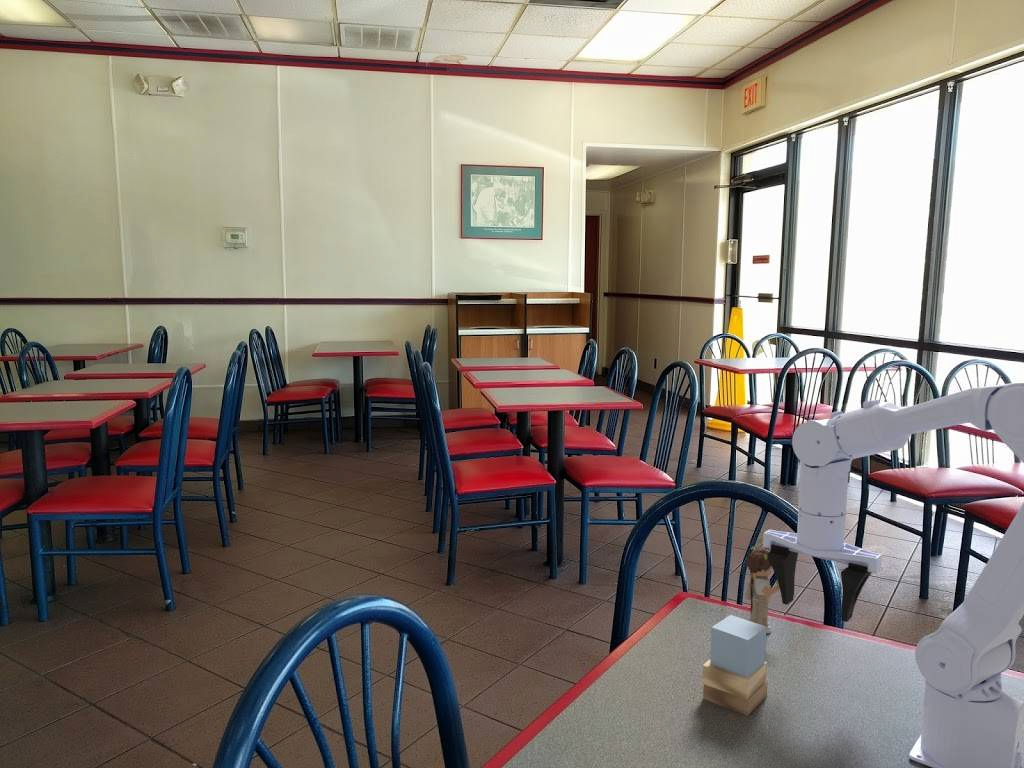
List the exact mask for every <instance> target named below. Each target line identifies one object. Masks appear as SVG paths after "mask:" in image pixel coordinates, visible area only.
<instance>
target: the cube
mask: <svg viewBox="0 0 1024 768" xmlns="http://www.w3.org/2000/svg"><path fill="white" fill-rule="evenodd" d="M710 630H711V633H710V655H709V656H710V657H709V658H710V664H711V665H714V666H716V667H719V668H722V669H724V670H727V671H729V672H732V673H734V674H737V675H740V676H742V677H745V678H747V677H749V676H750V675H751V674H752V673H754V672H755V671H756V670H757V669H759V668H760V667H761V666H762V665H763V664H765V662H766V645H767V644H766V643H767V633H766V626H763V625H760V624H757V623H754V622H751V621H749V619H748V620H747V619H744V618H742V617H739V616H735V615H733V614H729V615H727V616H726V617H725V618H724V619H722V620H720V621H719V622H717V623H716V624H714V625H713V626H711V629H710Z"/></svg>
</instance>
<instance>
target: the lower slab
mask: <svg viewBox="0 0 1024 768" xmlns="http://www.w3.org/2000/svg"><path fill="white" fill-rule="evenodd" d="M768 684H769V683H768V680H767V679H766V681H765V682H764V683H763V684H762V685H761V686H760V687H759V688H758V689H757V690H756V691H755V692H754V693H753V695H752V696H751V697H750V698H749V699H748V700H746V699H743V698H741V697H738V696H735V695H732V694H730V693H727V692H724V691H721V690H719V689H716V688H713V687H711V686H708V685H705V684H703V688H702V690H703V692H702V693H703V694H702V699H703V700H706V701H708V702H711V703H713V704H716V705H719V706H721V707H723V708H726V709H729V710H731V711H734V712H736V713H739V714H742V715H744V716H746V717H749V716H750V715H751V713H752V712H753V711H754V710H755V709H756V708H757V707H759V705H760V704H761V703H762V702H763V701H764V700H765V699H766V698H767V697H768Z"/></svg>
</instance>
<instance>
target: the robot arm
mask: <svg viewBox="0 0 1024 768" xmlns="http://www.w3.org/2000/svg"><path fill="white" fill-rule="evenodd" d="M862 406H863V407H862V408H858V409H854V410H851V411H847V412H843V411H842V410H836V411H833V412H830V414H829V416H830V417H829V418H824V419H817V420H816V419H807V420H806V421H805V422H803V423H801V424H800V425H798V426H797V427H796V428H795V430H794V432H793V435H792V438H791V439H792V440H791V441H792V449H793V452H794V454H795V456H796V458H797V459H798V460H799V461H800V470H799V490H798V507H797V508H798V510H797V511H798V512H797V526H796V527H797V529H796V530H797V531H796V533H795V532H788V531H779V530H774V529H768V530H766V531H764V532H763V533H762V535H763V536H762V537H763V538H762V547H763V548H769V549H770V550H769V551H768V552H769V553H767V559H768V561H769V563H770V564H771V569H772V570H773V573H774V575H775V577H776V582H777V581H778V584H779V588H780V589H779V591H780V592H779V593H780V597H781V601H782V604H783V605H786V606H787V605H789V604H791V603H792V602H793V601H794V597H795V576H796V569H797V568H796V567H797V561H798V557H799V554H802V555H805V556H811V557H813V558H819V559H823V560H825V561H826V560H827V561H831V562H835V563H840V564H844V565H847V567H845V568H844V569H843V570H841V571H840V577H841V587H842V588H841V589H842V601H841V609H840V620H841V621H842V622H845V623H847V622H849V621H850V620H851V619H852V617H853V613H854V611H855V606H856V603H857V600H858V598H859V596H860V594H861V592H862V589H863V588H864V586H865V584H866V583H867V581H868V579H869V578H870V577H871V575H872V573H873V574H877V573H878V572H879V571H880V570H881V569H882V559H883V558H882V556H883V555H882V554H881V553H878V552H877V553H876V552H873V551H869V550H866V549H863V548H861V547H858V546H855V545H853V544H851V543H847V542H845V533H846V519H847V518H846V517H847V505H848V504H847V502H848V501H847V500H848V483H849V472H850V471H851V465H852V461H853V460H856V459H858V458H864V457H868V456H872V455H873V456H874V455H877V454H882V453H887V452H892V451H896V450H900V449H902V448H903V447H905V446H906V444H907V442H908V440H909V439H910V437H911V435H914V434H918V433H923V432H929V431H933V430H939V429H944V428H949V427H950V428H951V427H952V426H953V427H954V426H959V425H964V424H970V425H973V426H974V427H976V428H977V429H979V430H980V431H983V432H988V431H992V430H993V432H994V433H995V434H996V436H997V437H998V439H1000V440H1001V441H1002V442H1003V443H1004V444H1005V446H1007V447H1008V448H1009V449H1010V450H1011V452H1012V453H1013V454H1014V455H1015V456H1016V457H1017V458H1018V460H1020V462H1022V463H1023V464H1024V381H1020V382H1019V381H1018V382H1010V383H1002V384H994V385H986V386H985V385H984V386H980V387H979V386H978V387H971V388H968V389H964V390H961V391H956V392H955V393H950V394H947V395H944V396H940V397H938V398H934V399H930V400H928V401H925V402H921V403H918V404H914V405H911V406H907V407H904V408H901V407H899V406H898V405H895V404H893V403H892V402H888V401H882V402H880V399H872V400H867V401H863V402H862ZM1023 617H1024V502H1023V503H1022V505H1021V506H1020V507H1019V509H1018V511H1017V513H1016V515H1015V516H1014V518H1013V519H1012V521H1011V522H1010V524H1009V526H1008V528H1007V529H1006V531H1005V533H1004V534H1003V536H1002V538H1001V539H1000V541H999V542H998V543H997V546H996V547H995V549H994V550H993V553H992V554H991V556H990V558H989V559H988V561H987V562H986V564H985V565H984V567H983V569H982V570H981V572H980V574H979V575H978V577H977V579H976V581H975V582H974V584H973V586H972V587H971V589H970V590H969V592H968V594H967V596H966V597H965V598H964V600H963V602H962V603H961V604H960V605H959V606H958V607H957V608H956V609H955V610H954V611H952V612H951V613H950V614H949V615H948V616H947V617H946V618H945V619H944V620H943V621H942V622H941V623H940V625H939V627H938V629H937V630H935V631H934V632H933V633H930V634H928V635H925V636H923V637H922V638H921V639H920V640H919V641H918V643H917V645H916V648H915V651H914V652H915V655H914V657H915V662H916V666H917V668H918V669H919V672H920V674H921V675H922V676H923V678H924V679H925V680H924V681H925V683H924V684H925V685H924V693H923V695H924V696H923V709H922V722H921V731H920V733H921V734H920V735H919V737H918V738H917V740H916V742H915V743H914V745H913V746H912V748H911V750H910V752H909V753H908V757H909V759H910V760H912V761H915V762H917V763H919V764H922V765H925V766H928V767H929V768H930V767H931V768H1021V766H1022V758H1023V754H1022V752H1021V751H1022V742H1023V741H1022V740H1023V732H1024V702H1023V701H1022V700H1019V699H1017V698H1015V697H1013V696H1011V695H1009V694H1008V693H1006V692H1004V691H1003V686H1002V680H1001V679H1002V673H1004V672H1005V671H1008V669H1010V668H1011V667H1012V666H1013V664H1014V662H1015V660H1016V652H1017V651H1016V644H1017V643H1016V642H1017V640H1018V637H1019V636H1020V634H1021V633H1022V631H1023V628H1022V627H1021V626H1020V624H1019V623H1020V621H1021V620H1022V618H1023Z"/></svg>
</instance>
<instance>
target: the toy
mask: <svg viewBox="0 0 1024 768" xmlns="http://www.w3.org/2000/svg"><path fill="white" fill-rule="evenodd" d="M757 542H758V544H761V542H763V539H759V540H757ZM750 544H751V543H749V544H748V545H747V546H748V547H749V546H750ZM753 549H755V550H753ZM770 549H771V548H769V547H761V549H759V547H758V546H757V547H756V546H755V545H752V546H751V547H749V548H748V550H749V551H750V550H752V551H751V552H750V553H749V551H747V554H748V553H749V555H748V556H747V558H746V566H747V568H748V571H749V575H750V576H749V578H750V579H749V580H750V581H749V582H747V585H746V589H745V592H744V593H745V594H744V595H745V597H744V598H745V599H746V600H747V601H750V609H749V610H750V611H749V612H750V613H749V614H750V617H749V619H748V621H751V622H754V623H757V624H760V625H763V626H766V634H771V633H772V626H771V623H770V621H769V620H768V619H769V618H768V614H769V612H768V611H769V602H770V601H771V599H772V596H773V595H775V594H776V593H777V592H779V591H780V588H779V584H778V581H777V580H776V582H775V584H776V585H775V586H773V587H772V585H770V581H771V579H770V578H769V576H770V575H771V574H772V566H771V564H770V563H769V561H768V559H767V553H769V552H770Z"/></svg>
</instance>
